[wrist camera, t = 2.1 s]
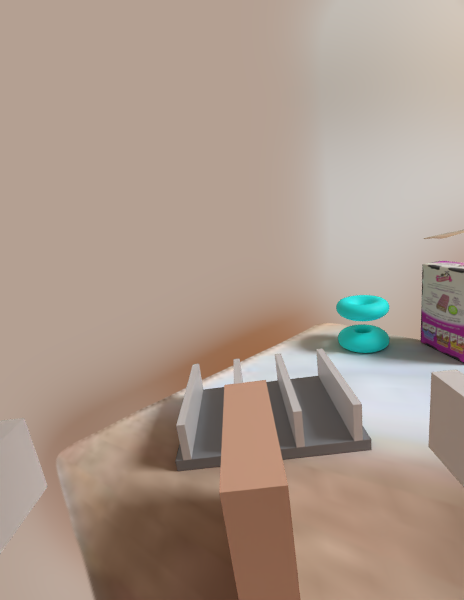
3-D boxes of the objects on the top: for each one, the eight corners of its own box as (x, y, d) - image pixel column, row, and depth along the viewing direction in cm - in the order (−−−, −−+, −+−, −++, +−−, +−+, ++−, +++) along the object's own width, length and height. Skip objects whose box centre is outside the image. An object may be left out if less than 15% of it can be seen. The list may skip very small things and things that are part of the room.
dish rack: (330, 382, 53) (328, 347, 51) (371, 449, 37) (370, 402, 35) (193, 398, 53) (187, 365, 52) (177, 471, 38) (167, 426, 36)
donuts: (326, 304, 63) (350, 292, 69) (329, 348, 65) (351, 333, 72) (376, 309, 55) (397, 295, 62) (377, 359, 58) (397, 341, 64)
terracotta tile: (279, 496, 33) (265, 379, 29) (305, 648, 21) (287, 485, 18) (242, 500, 33) (224, 385, 29) (248, 653, 21) (219, 492, 18)
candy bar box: (493, 360, 52) (501, 266, 48) (466, 365, 52) (473, 271, 48) (441, 337, 63) (444, 259, 59) (419, 341, 63) (420, 263, 59)
